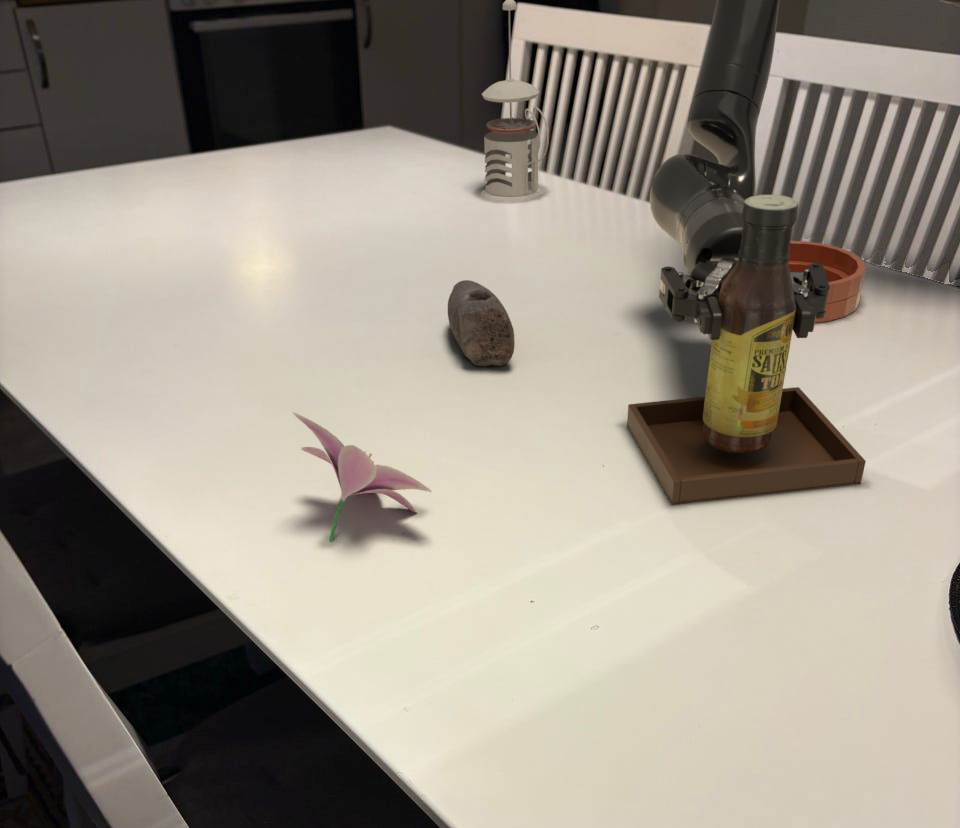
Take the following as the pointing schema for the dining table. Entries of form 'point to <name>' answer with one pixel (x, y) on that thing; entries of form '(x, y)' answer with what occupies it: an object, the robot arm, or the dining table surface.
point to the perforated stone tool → (480, 324)
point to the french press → (512, 141)
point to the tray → (721, 475)
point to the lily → (358, 470)
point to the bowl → (832, 274)
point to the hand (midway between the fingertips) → (760, 327)
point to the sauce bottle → (753, 331)
